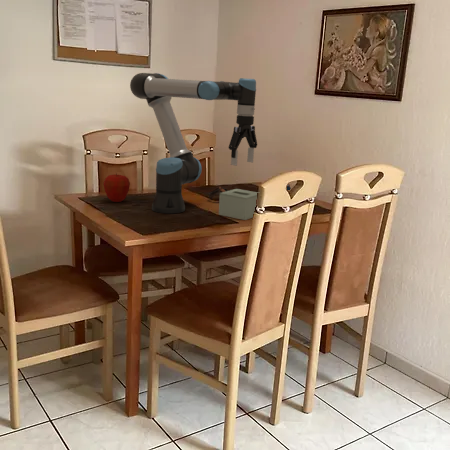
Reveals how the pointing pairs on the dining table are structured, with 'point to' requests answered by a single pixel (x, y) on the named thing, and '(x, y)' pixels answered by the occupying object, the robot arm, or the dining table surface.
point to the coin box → (237, 204)
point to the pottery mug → (216, 192)
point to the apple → (116, 187)
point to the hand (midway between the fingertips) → (242, 163)
